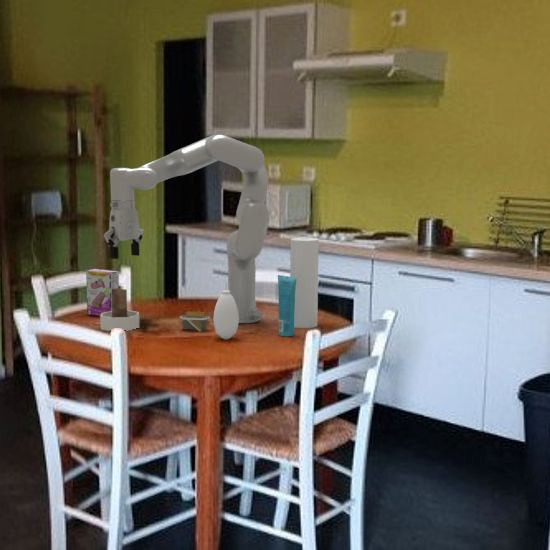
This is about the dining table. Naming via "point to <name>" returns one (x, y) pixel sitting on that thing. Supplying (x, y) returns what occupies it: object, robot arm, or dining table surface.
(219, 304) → the sauce bottle
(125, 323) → the grey round dish
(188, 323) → the grey basket
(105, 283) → the candy bar box
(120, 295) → the brown rectangular block
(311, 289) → the cylinder container
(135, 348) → the dining table surface
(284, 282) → the tube
